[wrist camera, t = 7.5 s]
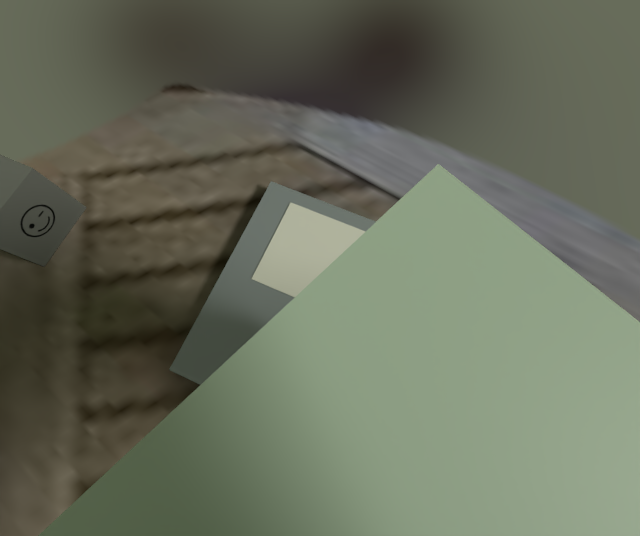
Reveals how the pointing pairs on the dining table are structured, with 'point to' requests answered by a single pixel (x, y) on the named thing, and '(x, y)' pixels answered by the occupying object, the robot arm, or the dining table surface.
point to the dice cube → (33, 212)
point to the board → (266, 274)
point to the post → (404, 400)
